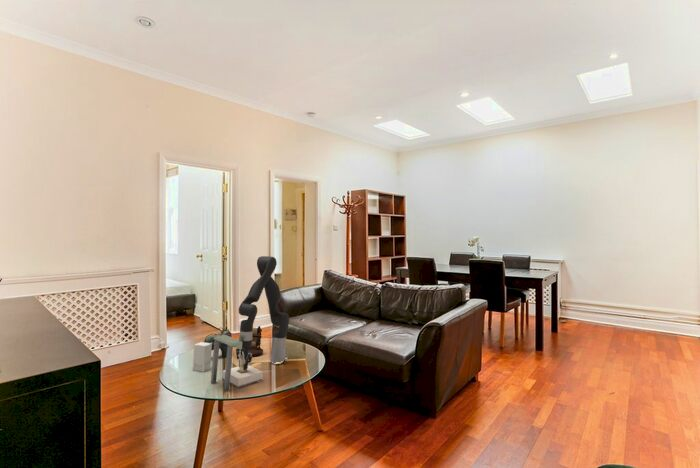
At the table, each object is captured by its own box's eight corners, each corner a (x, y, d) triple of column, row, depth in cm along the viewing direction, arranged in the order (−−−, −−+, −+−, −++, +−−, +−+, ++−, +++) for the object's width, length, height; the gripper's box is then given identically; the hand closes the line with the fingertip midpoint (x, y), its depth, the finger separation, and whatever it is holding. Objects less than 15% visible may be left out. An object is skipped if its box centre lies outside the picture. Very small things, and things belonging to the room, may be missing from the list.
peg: (243, 374, 200) (245, 353, 201) (247, 376, 198) (249, 355, 198) (237, 375, 197) (239, 354, 198) (241, 377, 195) (243, 356, 195)
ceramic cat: (226, 354, 240) (229, 325, 240) (231, 356, 235) (234, 327, 236) (198, 359, 224) (201, 329, 225) (203, 362, 220) (206, 331, 221)
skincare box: (210, 368, 211) (213, 343, 211) (203, 372, 204) (205, 346, 205) (199, 366, 213) (201, 341, 213) (191, 370, 206) (194, 344, 207)
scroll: (266, 352, 250) (268, 324, 251) (257, 358, 236) (260, 329, 237) (246, 349, 253) (249, 322, 253) (237, 355, 238) (240, 326, 239)
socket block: (245, 372, 209) (246, 364, 209) (262, 380, 199) (262, 371, 199) (221, 379, 196) (222, 370, 196) (237, 388, 186) (238, 378, 186)
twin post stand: (221, 379, 196) (225, 334, 197) (238, 388, 186) (242, 341, 187) (209, 382, 191) (213, 336, 192) (226, 392, 180) (231, 343, 181)
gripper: (258, 340, 197) (255, 370, 196) (243, 334, 206) (241, 363, 205) (247, 342, 191) (244, 373, 190) (232, 336, 200) (230, 366, 199)
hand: (242, 368), depth 198 cm, fingers closed on peg, 4 cm apart
